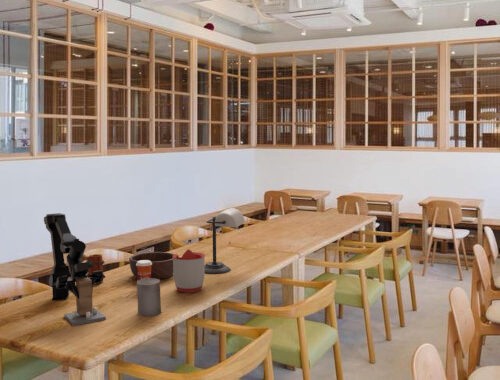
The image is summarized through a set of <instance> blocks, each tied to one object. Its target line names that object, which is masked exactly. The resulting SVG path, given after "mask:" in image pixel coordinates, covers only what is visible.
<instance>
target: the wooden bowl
mask: <svg viewBox="0 0 500 380" xmlns="http://www.w3.org/2000/svg"><path fill="white" fill-rule="evenodd" d="M174 254H175V253H172V252H167V251H166V252H165V251H151V252H140V253H136V254H132V255H131V256H130V257H129V258H128V260H129V266H130V267H129V268H130V271H131V273H132V275H133V276H134V278H136V279H138V276H137V265H136V264H137V261H140V260H149V261H151V262H152V265H151V278H155V279H159V280H163V279H167V278H171V276H172V275H173V257H172V256H173V255H174Z"/></svg>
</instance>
